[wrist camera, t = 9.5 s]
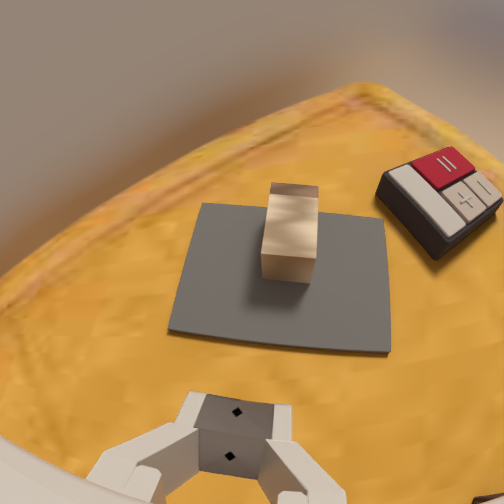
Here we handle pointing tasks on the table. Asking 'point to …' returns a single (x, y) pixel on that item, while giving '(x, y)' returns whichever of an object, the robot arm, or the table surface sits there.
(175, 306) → the mat
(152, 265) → the table surface
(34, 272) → the table surface
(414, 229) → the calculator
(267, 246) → the block
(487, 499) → the box
